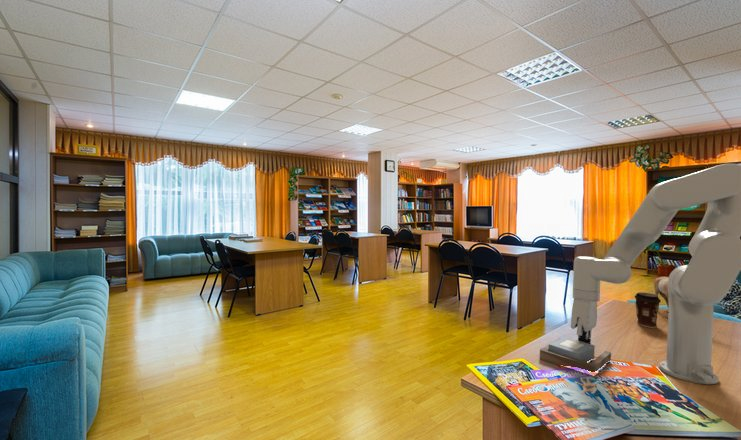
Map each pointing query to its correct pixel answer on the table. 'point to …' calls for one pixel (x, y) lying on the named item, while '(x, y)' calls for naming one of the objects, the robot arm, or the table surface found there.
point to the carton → (573, 349)
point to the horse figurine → (662, 288)
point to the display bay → (574, 360)
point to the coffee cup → (647, 309)
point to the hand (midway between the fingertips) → (583, 349)
